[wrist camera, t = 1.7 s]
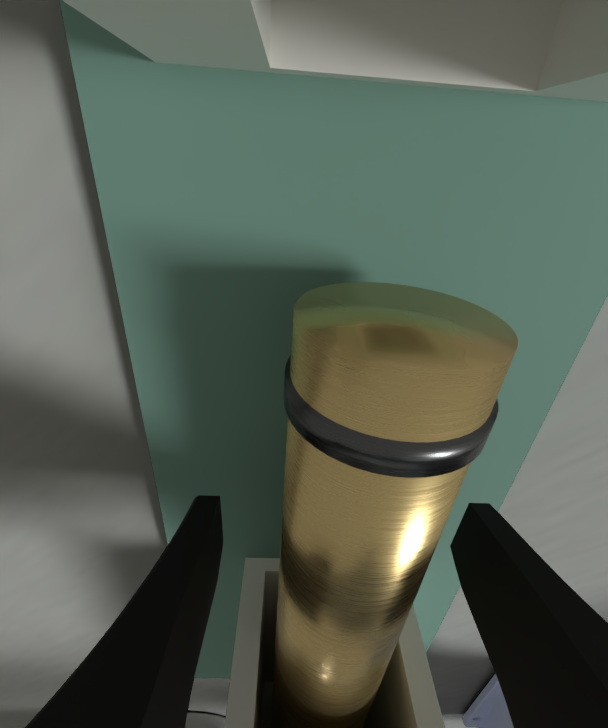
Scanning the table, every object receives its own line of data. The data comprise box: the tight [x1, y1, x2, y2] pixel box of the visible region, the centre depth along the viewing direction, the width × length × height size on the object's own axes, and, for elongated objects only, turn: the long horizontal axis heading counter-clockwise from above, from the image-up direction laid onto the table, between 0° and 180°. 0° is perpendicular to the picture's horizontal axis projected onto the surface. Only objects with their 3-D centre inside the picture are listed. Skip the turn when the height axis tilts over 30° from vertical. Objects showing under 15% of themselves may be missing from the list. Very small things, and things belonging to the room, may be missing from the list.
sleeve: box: [224, 558, 445, 728], centre depth 14 cm, size 11×6×6 cm, turn 176°
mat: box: [59, 0, 608, 678], centre depth 12 cm, size 32×12×1 cm, turn 176°
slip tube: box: [271, 282, 518, 728], centre depth 11 cm, size 21×4×4 cm, turn 176°
